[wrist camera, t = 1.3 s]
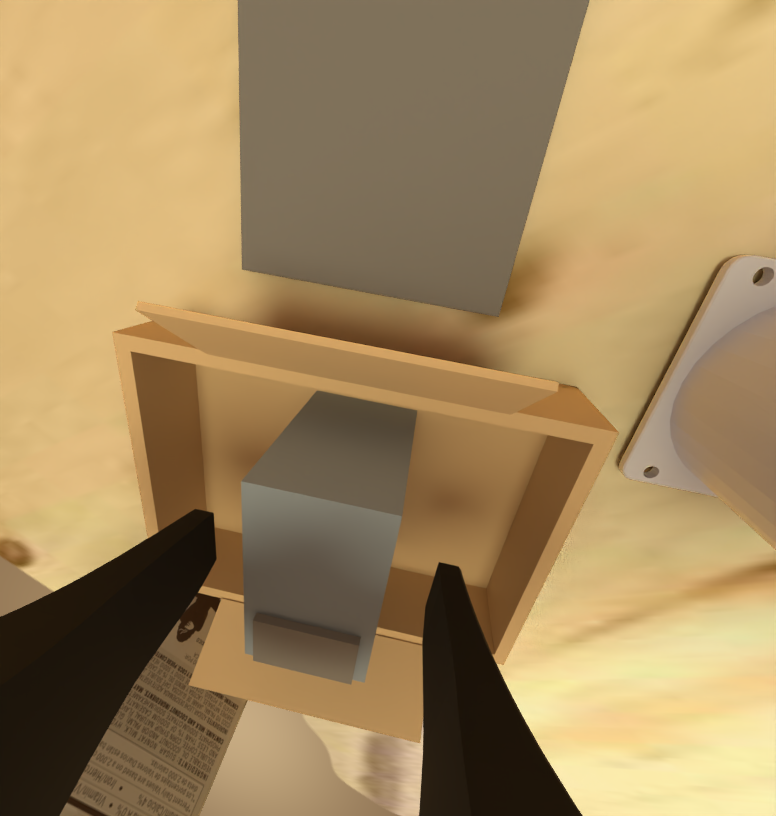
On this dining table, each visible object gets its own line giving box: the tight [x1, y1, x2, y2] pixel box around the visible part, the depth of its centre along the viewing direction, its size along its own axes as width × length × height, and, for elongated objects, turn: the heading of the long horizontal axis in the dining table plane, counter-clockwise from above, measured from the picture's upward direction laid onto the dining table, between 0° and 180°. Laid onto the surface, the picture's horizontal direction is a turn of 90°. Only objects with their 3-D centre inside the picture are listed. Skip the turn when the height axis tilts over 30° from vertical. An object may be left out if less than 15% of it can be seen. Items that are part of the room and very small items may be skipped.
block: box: [241, 391, 417, 685], centre depth 13 cm, size 4×7×6 cm, turn 171°
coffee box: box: [60, 593, 247, 816], centre depth 14 cm, size 9×6×16 cm
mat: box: [238, 0, 589, 317], centre depth 11 cm, size 9×9×1 cm
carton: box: [112, 301, 619, 743], centre depth 13 cm, size 15×15×6 cm
